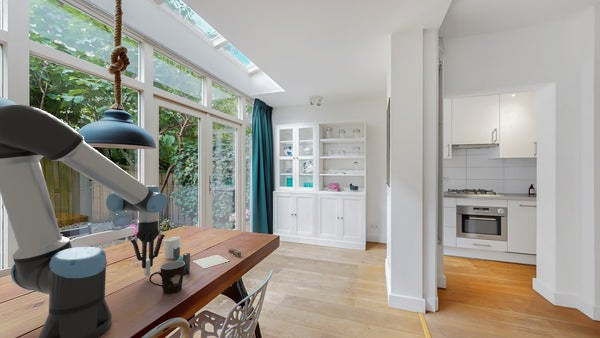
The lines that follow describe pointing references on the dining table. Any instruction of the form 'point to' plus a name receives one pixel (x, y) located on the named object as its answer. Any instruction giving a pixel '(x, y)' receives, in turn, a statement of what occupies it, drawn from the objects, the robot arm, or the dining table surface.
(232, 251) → the stopper wall
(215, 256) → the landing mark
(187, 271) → the near post
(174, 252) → the far post
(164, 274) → the coffee mug
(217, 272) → the dining table surface
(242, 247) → the dining table surface
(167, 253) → the white cup
